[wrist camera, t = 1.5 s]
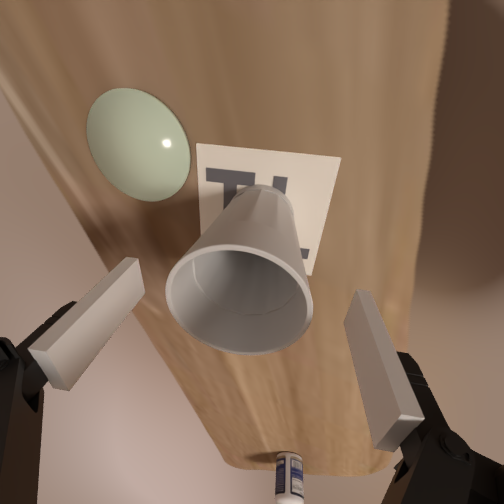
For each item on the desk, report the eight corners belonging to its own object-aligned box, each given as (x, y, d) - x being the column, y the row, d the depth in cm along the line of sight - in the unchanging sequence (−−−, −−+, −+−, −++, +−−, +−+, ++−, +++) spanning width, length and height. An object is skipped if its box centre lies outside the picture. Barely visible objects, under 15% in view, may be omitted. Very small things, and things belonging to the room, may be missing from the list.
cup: (269, 265, 26) (255, 371, 16) (205, 223, 24) (144, 312, 14) (321, 210, 22) (347, 304, 12) (249, 155, 20) (208, 211, 10)
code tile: (197, 142, 21) (195, 143, 20) (340, 156, 20) (341, 157, 19) (203, 258, 27) (201, 260, 27) (310, 273, 26) (311, 275, 26)
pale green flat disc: (77, 83, 19) (71, 83, 19) (187, 93, 19) (184, 92, 18) (106, 193, 24) (102, 195, 24) (194, 204, 23) (192, 206, 23)
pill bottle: (279, 461, 53) (276, 526, 45) (274, 450, 51) (271, 517, 43) (303, 462, 52) (306, 530, 44) (300, 452, 50) (302, 521, 41)
